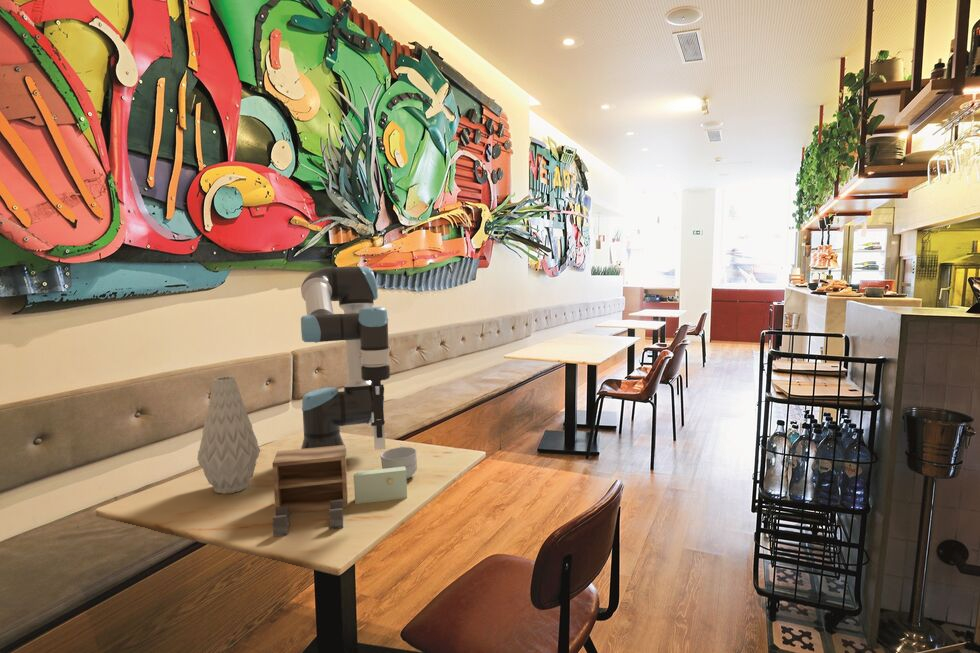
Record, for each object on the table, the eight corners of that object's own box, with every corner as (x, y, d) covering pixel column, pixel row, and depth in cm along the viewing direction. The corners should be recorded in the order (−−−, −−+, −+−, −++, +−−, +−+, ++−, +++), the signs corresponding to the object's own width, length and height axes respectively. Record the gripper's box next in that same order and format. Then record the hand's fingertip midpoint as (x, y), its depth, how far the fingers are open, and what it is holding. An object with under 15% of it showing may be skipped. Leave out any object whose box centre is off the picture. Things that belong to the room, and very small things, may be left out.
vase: (191, 489, 163) (182, 379, 160) (248, 473, 175) (241, 370, 171) (211, 505, 151) (202, 386, 148) (271, 487, 163) (264, 377, 160)
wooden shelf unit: (280, 500, 153) (277, 451, 152) (347, 492, 158) (345, 444, 156) (269, 537, 132) (265, 480, 130) (347, 527, 136) (344, 471, 135)
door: (354, 499, 153) (353, 471, 152) (406, 493, 156) (405, 466, 155) (355, 505, 149) (353, 477, 148) (407, 499, 152) (406, 471, 152)
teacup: (410, 485, 162) (409, 458, 162) (375, 483, 165) (374, 456, 164) (425, 468, 176) (424, 443, 175) (393, 466, 178) (392, 442, 177)
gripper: (360, 358, 160) (363, 430, 162) (362, 373, 136) (365, 457, 138) (386, 357, 162) (389, 428, 164) (392, 371, 138) (396, 454, 140)
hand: (378, 441), depth 151 cm, fingers open, 13 cm apart
